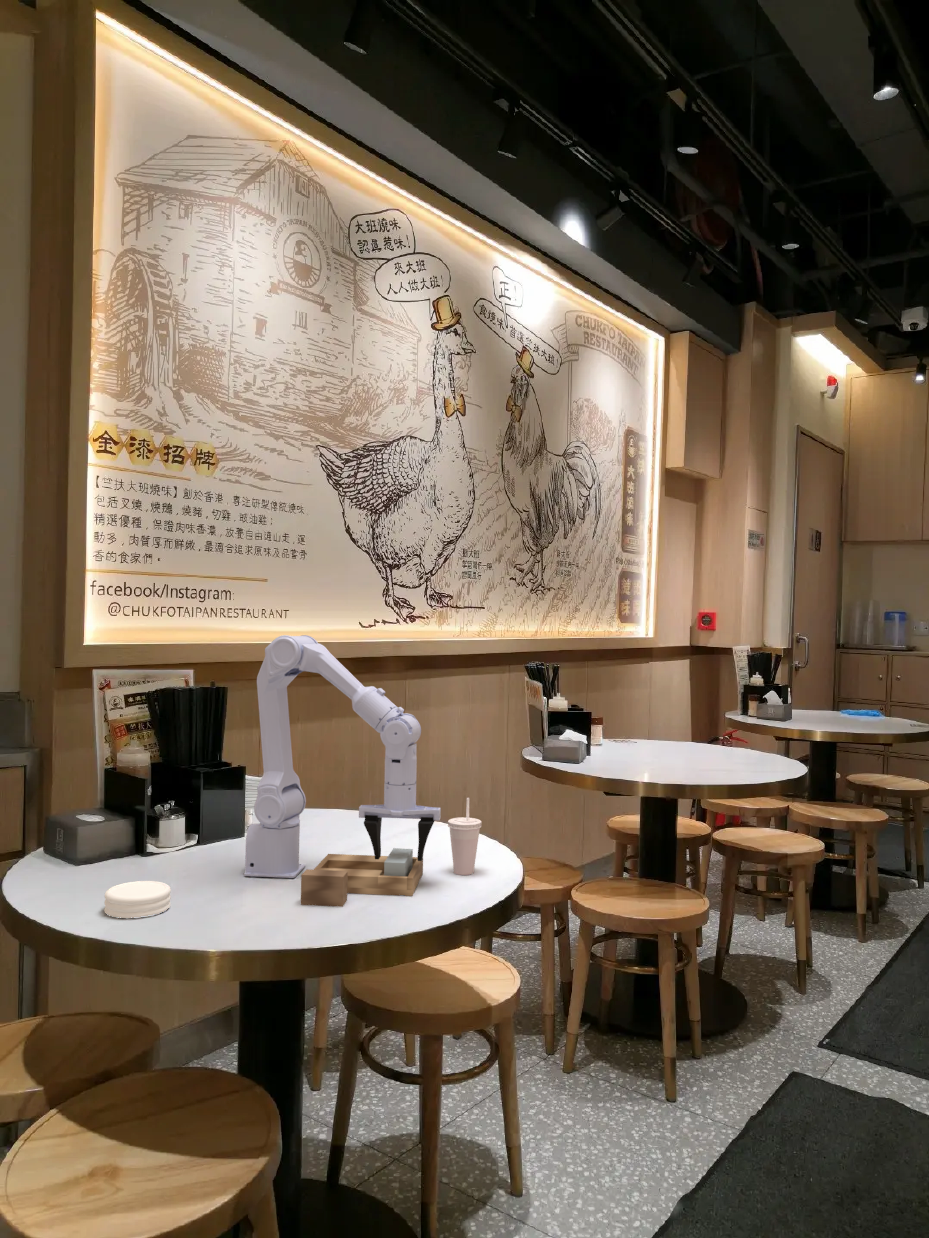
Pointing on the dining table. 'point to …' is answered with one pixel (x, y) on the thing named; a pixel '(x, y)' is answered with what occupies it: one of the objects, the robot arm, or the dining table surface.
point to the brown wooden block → (324, 888)
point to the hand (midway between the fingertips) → (398, 858)
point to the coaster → (137, 899)
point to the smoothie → (464, 842)
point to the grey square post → (398, 862)
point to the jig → (372, 874)
